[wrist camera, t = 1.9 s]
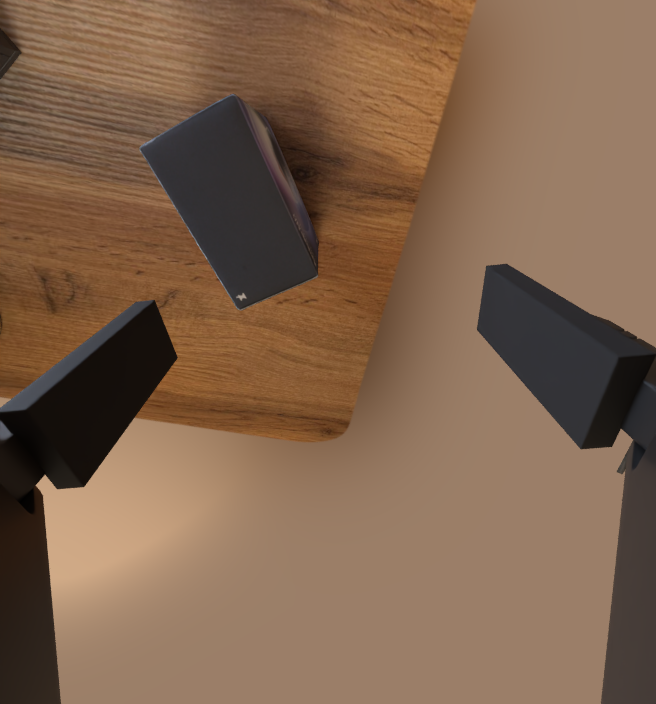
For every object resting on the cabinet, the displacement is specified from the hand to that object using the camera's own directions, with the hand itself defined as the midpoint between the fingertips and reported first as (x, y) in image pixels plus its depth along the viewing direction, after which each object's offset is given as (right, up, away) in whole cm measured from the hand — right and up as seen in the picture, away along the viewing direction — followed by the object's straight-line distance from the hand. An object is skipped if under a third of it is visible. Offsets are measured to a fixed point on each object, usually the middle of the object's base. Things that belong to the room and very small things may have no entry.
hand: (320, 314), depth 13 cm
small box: (-5, +12, +15) cm, 20 cm away
